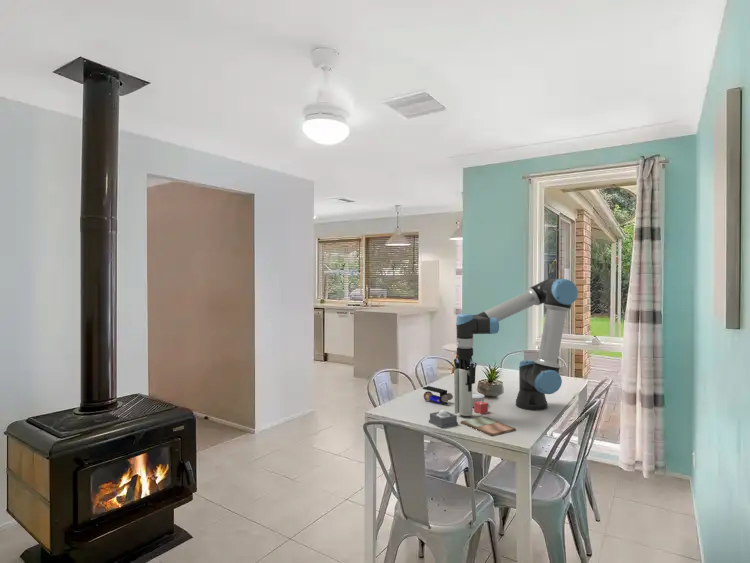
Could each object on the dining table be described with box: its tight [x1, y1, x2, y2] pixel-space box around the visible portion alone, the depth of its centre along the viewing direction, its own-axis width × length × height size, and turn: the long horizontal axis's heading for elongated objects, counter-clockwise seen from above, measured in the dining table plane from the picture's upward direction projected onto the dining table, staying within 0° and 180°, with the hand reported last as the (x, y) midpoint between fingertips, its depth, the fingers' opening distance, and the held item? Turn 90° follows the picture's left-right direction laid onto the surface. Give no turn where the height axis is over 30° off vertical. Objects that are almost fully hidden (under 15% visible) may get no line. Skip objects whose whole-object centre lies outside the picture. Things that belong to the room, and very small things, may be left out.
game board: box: [460, 416, 517, 437], centre depth 196 cm, size 14×19×1 cm
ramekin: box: [472, 391, 486, 407], centre depth 229 cm, size 11×11×5 cm
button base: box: [428, 411, 459, 429], centre depth 200 cm, size 9×9×4 cm
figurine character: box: [422, 385, 454, 406], centre depth 234 cm, size 7×8×15 cm
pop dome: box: [436, 409, 450, 418], centre depth 200 cm, size 6×6×5 cm
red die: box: [473, 401, 489, 415], centre depth 217 cm, size 4×4×5 cm
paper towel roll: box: [453, 368, 473, 417], centre depth 211 cm, size 7×6×21 cm
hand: (465, 397), depth 210 cm, fingers closed on paper towel roll, 3 cm apart
